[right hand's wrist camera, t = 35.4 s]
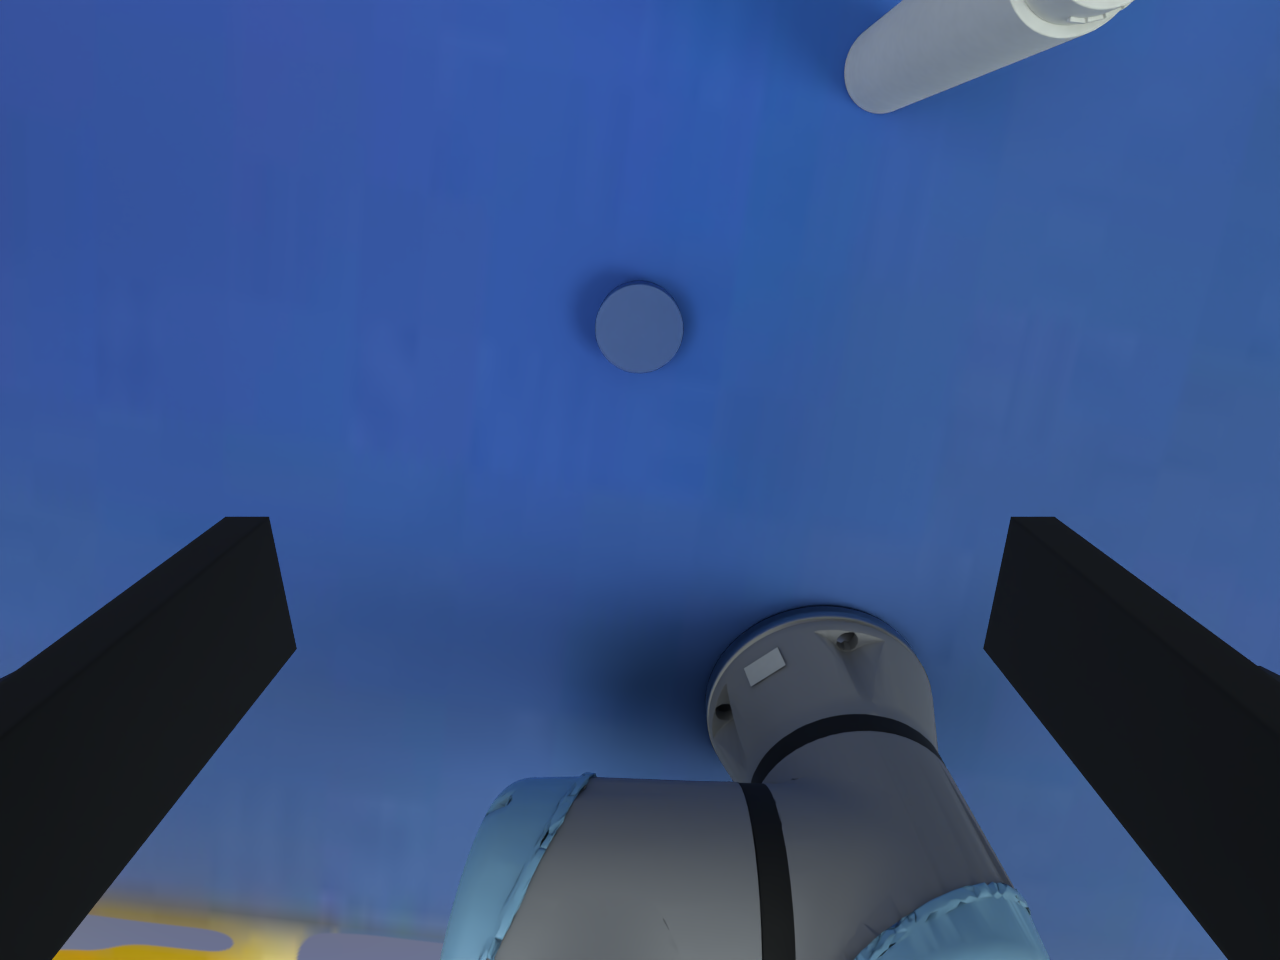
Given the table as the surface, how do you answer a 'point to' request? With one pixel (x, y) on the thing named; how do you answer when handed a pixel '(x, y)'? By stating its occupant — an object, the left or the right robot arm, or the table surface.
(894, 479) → the table surface
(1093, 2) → the light grey cylinder
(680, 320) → the lid
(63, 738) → the right robot arm
